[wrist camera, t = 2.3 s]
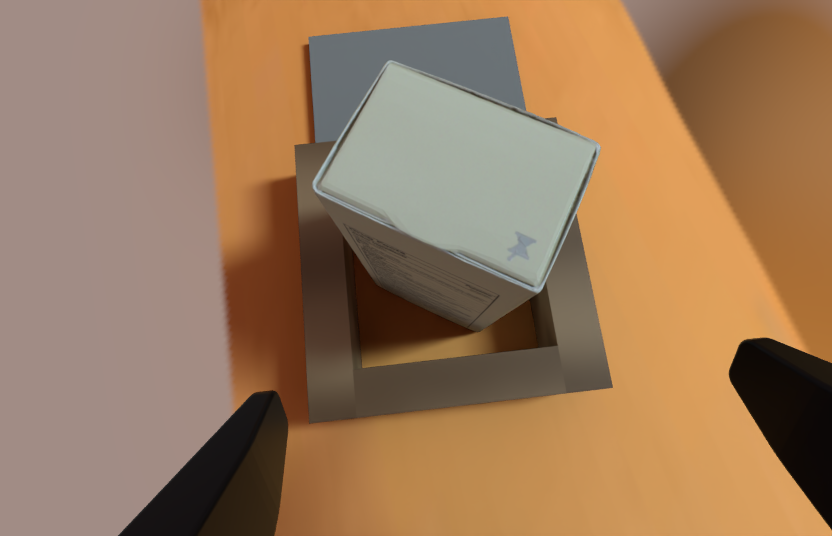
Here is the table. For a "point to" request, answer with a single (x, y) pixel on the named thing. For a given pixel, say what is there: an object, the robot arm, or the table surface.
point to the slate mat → (410, 64)
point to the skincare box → (453, 194)
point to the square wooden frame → (445, 378)
